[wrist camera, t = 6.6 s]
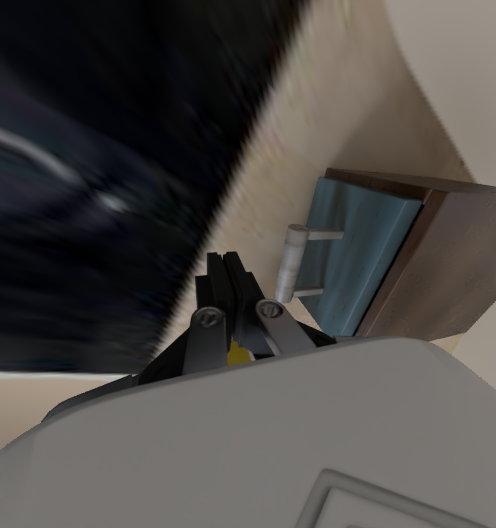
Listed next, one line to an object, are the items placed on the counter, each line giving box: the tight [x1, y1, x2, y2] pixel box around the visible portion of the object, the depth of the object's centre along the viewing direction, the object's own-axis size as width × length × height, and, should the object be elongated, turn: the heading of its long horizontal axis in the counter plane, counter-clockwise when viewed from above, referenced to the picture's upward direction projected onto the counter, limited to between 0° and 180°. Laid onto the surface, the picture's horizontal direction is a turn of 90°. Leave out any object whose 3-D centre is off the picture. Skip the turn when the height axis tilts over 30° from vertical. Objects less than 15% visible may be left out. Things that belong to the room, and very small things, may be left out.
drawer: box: [274, 176, 425, 338], centre depth 17 cm, size 17×11×8 cm
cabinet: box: [325, 168, 496, 342], centre depth 18 cm, size 14×13×10 cm
